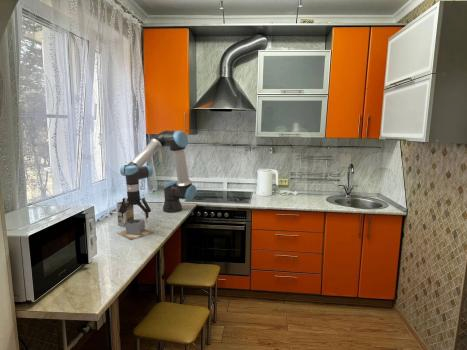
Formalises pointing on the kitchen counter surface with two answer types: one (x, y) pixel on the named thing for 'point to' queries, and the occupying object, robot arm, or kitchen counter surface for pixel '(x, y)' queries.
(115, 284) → the kitchen counter surface
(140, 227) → the square sleeve with handle
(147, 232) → the post board
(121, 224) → the coffee box
